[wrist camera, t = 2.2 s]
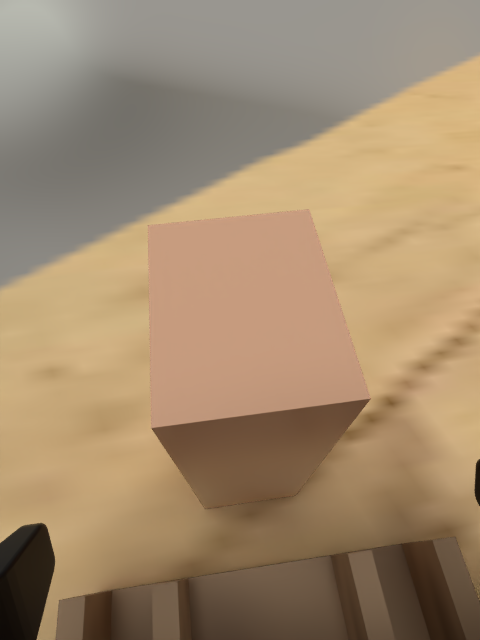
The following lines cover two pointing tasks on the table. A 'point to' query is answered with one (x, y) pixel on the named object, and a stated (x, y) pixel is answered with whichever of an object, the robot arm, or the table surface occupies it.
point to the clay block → (247, 354)
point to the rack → (295, 601)
